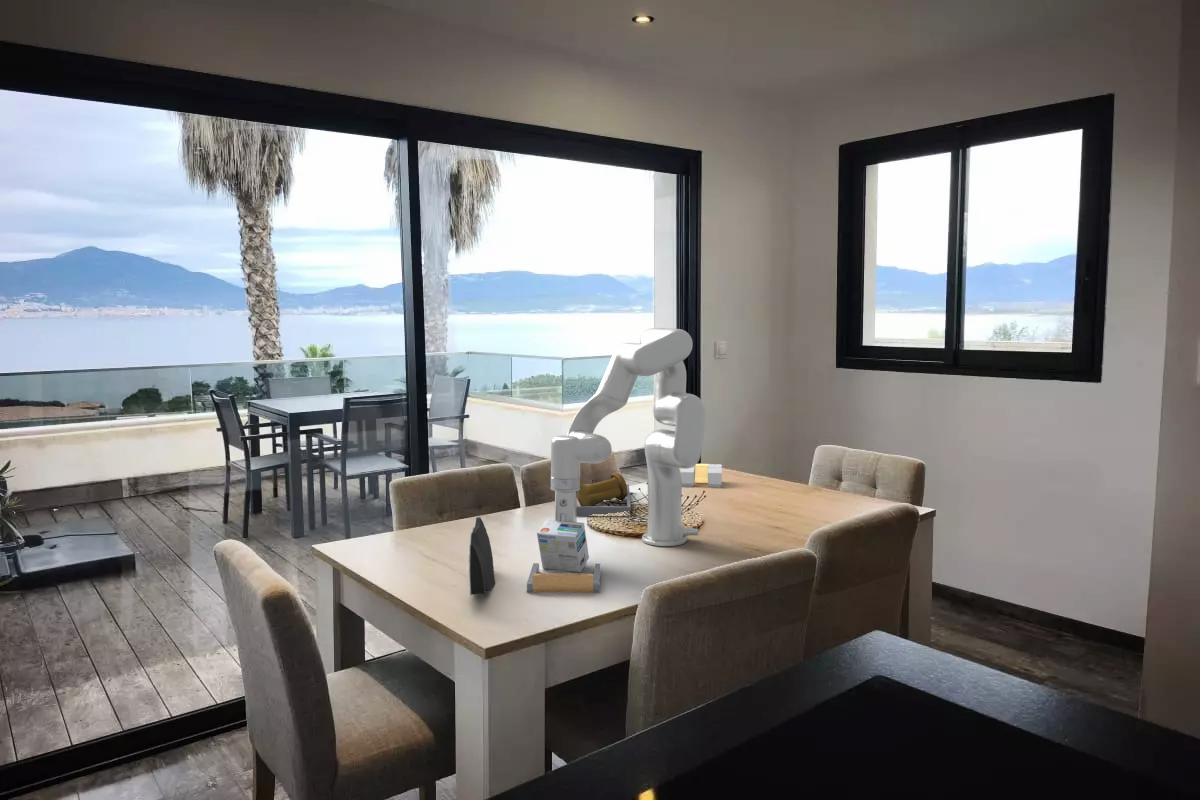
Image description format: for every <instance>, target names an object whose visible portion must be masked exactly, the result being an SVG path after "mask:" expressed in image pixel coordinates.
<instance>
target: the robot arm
mask: <svg viewBox="0 0 1200 800" xmlns="http://www.w3.org/2000/svg"><path fill="white" fill-rule="evenodd" d="M692 350H693V339H692V336H691V335H690V334H689V333H688V332H687V331H686V330H684V329H680V328H666V327H653V328H647V329H645V330H644V331H643V332H642V333H641V335H640V337H639V343H638V342H625V343H621V344H619V345H617V347H616V348H615V349H614V351H613V353H612V355H611V357H610V360H609V362H608V364H607V366H606V370H605V372H604V374H603V377H602V379H601V380H600V383H599V386H598V388H597V389H596V392H595V393H594V394H593V395H592V396H591V397H590V398H588V400H587V401H586V402H585V403H584V404H583V406H581V407H580V409H579V410H578V411H577V413H576V414H575V415H574V417H573V419H572V421H571V424H570V426H569V428H568V430H567V434H566V435H564V434H563V435H555V436H553V438H552V439H551V447H550V448H551V451H550V453H551V454H550V457H551V458H550V490H551V491H552V492H553V491H554V521H564V522H577V517H578V516H577V514H576V506H577V493H576V491H578V490H580V479H581V464H592V465H593V464H595V465H596V464H601V463H604V462H605V461H607V460H608V459H609V458H610V456H611V454H612V444H611V442H610V441H609V440H608V439H607V438H606V437H605V436H603V435H600V434H596V433H594V432H595V429H596V428H597V426H598V425H599V423H600V422H601V421H602V420H603V419H604V418H606V417H607V416H609V415H610V414H612V413H614V412H617V411H619V410H620V409H622V408H624V407H625V406H626V405H627V404H628V400H629V398H630V396H631V393H632V391H633V389H634V386H635V384H636V382H637V379H638V376H641V377H650V376H654V375H655V388H654V395H653V396H654V398H653V408H652V411H653V412H652V413H653V417H654V420H655V421H657V422H658V423H659V424H662V425H665V426H670V427H674V428H675V429H674V430H671V429H663V428H662V429H661V428H660V429H655V430H653V431H652V432H650V433H649V434H648V435H647V437H646V439H645V442H644V454H645V460H646V468H647V532H645V533H643V535H642V536H641V540H642V542H643V543H645V544H647V545H651V546H656V547H676V546H681V545H683V544H685V543H686V542H687V540H688V539H687V538H688V537H687V536H698V535H699V529H698V528H693V527H692V526H688V527H687V526H686V527H685V525H684V526H683V522H682V501H683V499H682V497H683V496H682V495H683V493H682V492H683V491H682V477H681V472H680V469H679V468H683V469H689V468H692V467H694V466H695V465H696V464H699V461H700V459H701V456H702V453H703V447H704V446H703V445H704V436H705V435H704V434H705V424H706V409H705V405H704V403H703V401H702V399H701V398H700V397H698V396H697V395H695V394H692V393H688V392H687V370H686V365H685V362H684V360H686V359H687V358H688V356H690V354H691V352H692Z"/></svg>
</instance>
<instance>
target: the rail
mask: <svg viewBox="0 0 1200 800" xmlns="http://www.w3.org/2000/svg"><path fill="white" fill-rule="evenodd" d="M539 572H540V563H537V562H536V563H534V562H533V563H532V566H531V569H530V573H529V576H528V579H527V582H526V593H600V587H601V563H594V572H593V573H539Z"/></svg>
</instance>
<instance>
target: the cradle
mask: <svg viewBox="0 0 1200 800" xmlns="http://www.w3.org/2000/svg"><path fill="white" fill-rule="evenodd" d="M585 484H586V485H588V484H589V483H585ZM626 485H627V496H626V498H625V499H626V506H625V505H624V506H623V505H622V506H618V505H617V506H616V505H615V506H613V505H611V506H609V505H608V506H606V505H602V506H601V505H600V506H599V505H598V506H597V505H595V506H581V505H576V514H577V517H590V516H589V515H592V514H608V513H617V512H622V511H631V512H632V510H631V509H632V506H631V505H632V504H631V493H630V492H631V491H630V484H629V483H626ZM576 494H577V491H576Z"/></svg>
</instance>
